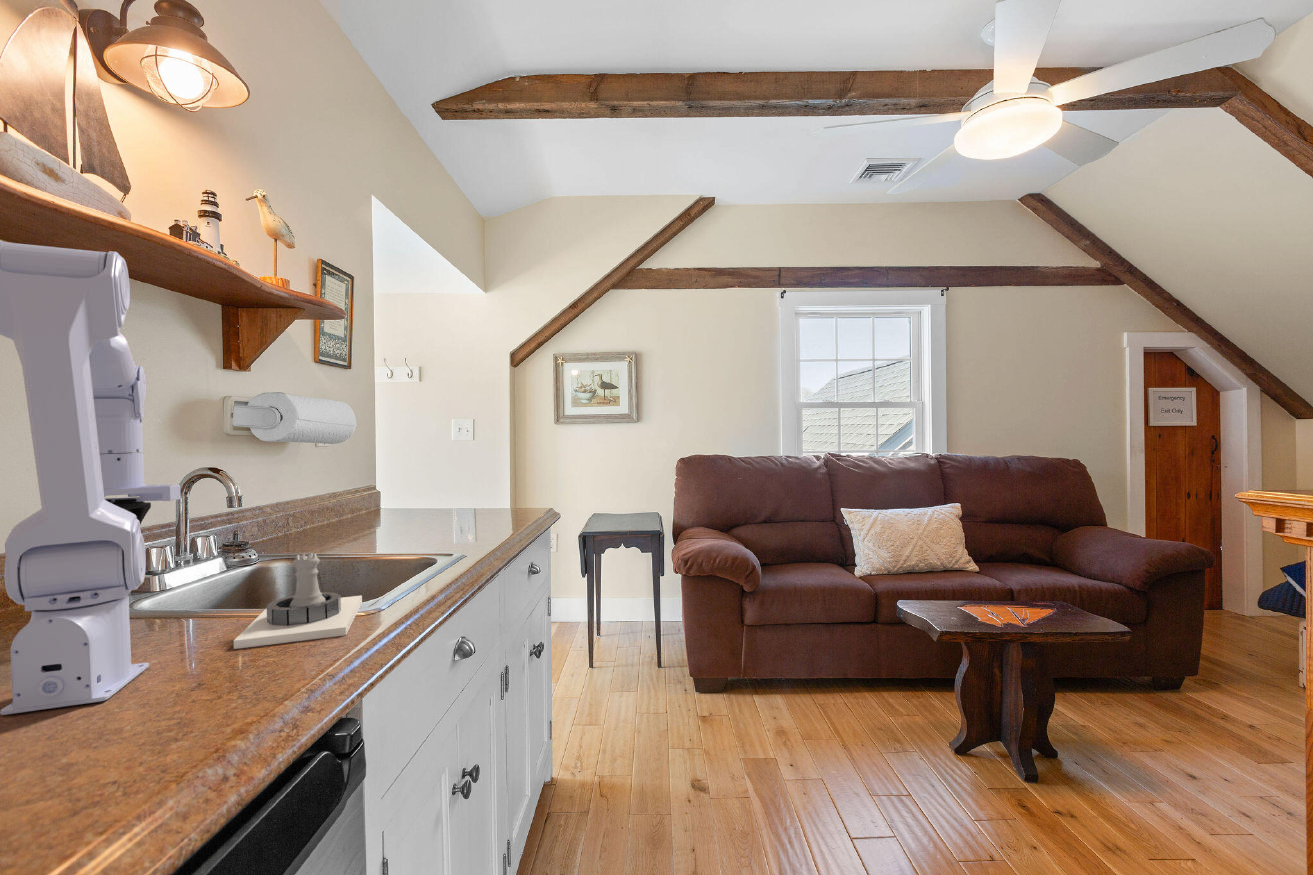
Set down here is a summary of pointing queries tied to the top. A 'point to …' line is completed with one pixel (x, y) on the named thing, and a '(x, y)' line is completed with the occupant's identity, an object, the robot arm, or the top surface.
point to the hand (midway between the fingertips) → (119, 558)
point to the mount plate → (299, 627)
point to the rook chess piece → (306, 581)
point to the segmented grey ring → (302, 610)
